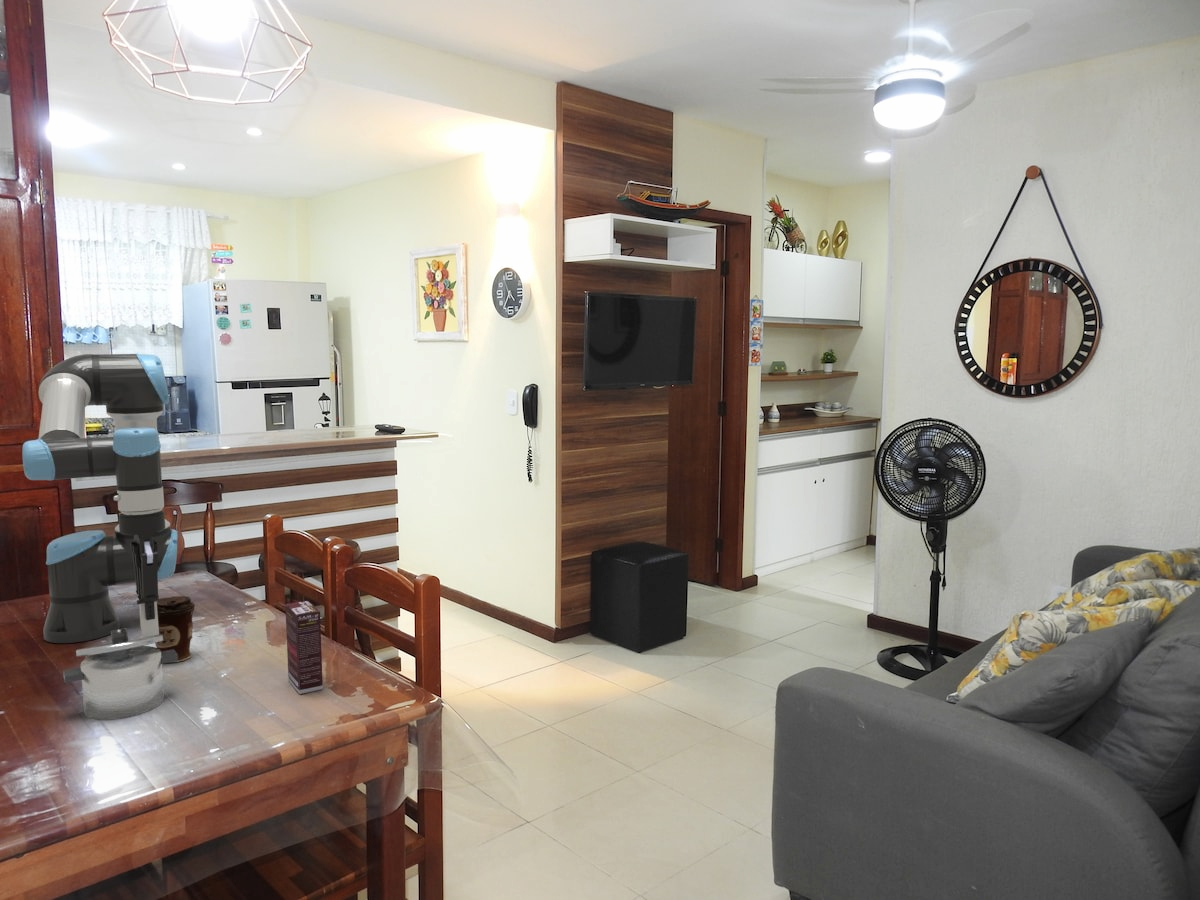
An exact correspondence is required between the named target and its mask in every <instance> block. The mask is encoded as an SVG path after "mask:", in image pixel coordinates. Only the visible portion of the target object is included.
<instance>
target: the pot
mask: <svg viewBox="0 0 1200 900" xmlns="http://www.w3.org/2000/svg"><path fill="white" fill-rule="evenodd" d="M173 661H178V654H177V653H176V651H175V650H174V649H172V650H166V651H160V650H159V649H158V648H157V647H156V646H150V645H144V646H139V647H134V648H129V649H124V650H119V651H113V652H107V653H101V654H95V655H89V656H88V657H86V658H85V659H83V660H82V661H81V663H80V666H78V667H75V668H74V667H73V668H71V669H65V670H64V669H63V670H62V672H63V680H64V683H65V684H68V683H73V682H79V681H81V687H82V688H81V689H82V701H83V712H84V716H86V717H87V718H90V719H92V720H99V721H100V720H101V721H107V720H108V721H109V720H111V721H112V720H119V719H126V718H131V717H134V716H139V715H142V714H145V713H147V712H149V711H151V710H153V709H155V708H158V706H160V705H161V704H162V703H163V702H164V699H165V693H164V691H165V690H164V680H163V679H164V678H163V664H169V663H168V662H170V663H174V662H173Z"/></svg>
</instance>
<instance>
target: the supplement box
mask: <svg viewBox="0 0 1200 900" xmlns="http://www.w3.org/2000/svg"><path fill="white" fill-rule="evenodd" d="M285 624H286V625H285V626H286V628H285V629H286V648H287V649H286V651H287V653H286V654H287V655H286V656H287V677H288V682H289V683H290V685H292V687H293V688H294V689H295V691H296V692H297V693H298V694H299V695H301V694H302V695H303V694H307V693H313V692H318V691H321V690H323V689H324V685H323V683H324V682H323V659H322V658H323V657H322V655H323V654H322V630H321V629H322V628H321V625H322V624H321V611H320V610H319V609H318V608H317V607H316V606H315V605H314V604H313V603H311V602H310V601H309V600H303V601H302V600H301V601H297V602H292V603H291V602H290V603H286V604H285Z"/></svg>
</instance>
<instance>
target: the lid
mask: <svg viewBox="0 0 1200 900" xmlns="http://www.w3.org/2000/svg"><path fill="white" fill-rule="evenodd" d="M110 635H111V636H110V637H111V641H108V642H103V643H100V644H96V645H92V646H87V647H83V648H79V649H76V650H75V652H76V653H75V656H76V657H87V656H92V655H95V654H101V653H107V652H113V651H119V650H124V649H129V648H134V647H139V646H150V645H152V644H155V643H157V642H161V641H163V635H154V636H148V637H142V636H140V637H136V638H134V637H133V638H129V637H128V636H129V635H128V628H127V627H126V628H119V629H118V630H113V631H111V634H110Z"/></svg>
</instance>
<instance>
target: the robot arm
mask: <svg viewBox="0 0 1200 900" xmlns="http://www.w3.org/2000/svg"><path fill="white" fill-rule="evenodd" d="M164 371H165V370H164V367H163V363H162V360H161V359H160V357H158V356H157V355H155V354H147V353H146V354H145V353H139V352H137V353H109V354H108V353H106V354H105V353H104V354H103V353H100V354H96V353H95V354H92V353H87V354H85V353H84V354H79V355H75V356H74V355H73V356H71V357H69V358H67V359H64V360H61V361H60V362H58V363H57V364H55V365H54V366H53V367H51V368H49V370H48V371H47V372H45V374H44V375H43V376H42V378H41V381H40V383H39V385H38V399H39V401H40V402H41V404H42V407H41V413H40V414H41V415H40V416H41V417H40V422H39V423H40V424H39V432H38V438H37V439H33V440H27V441H25V442H24V443H23V444H22V451H21V452H22V466H23V472H24V476H25V477H26V479H28V480H30V481H54V480H65V479H66V480H67V479H68V480H69V479H80V478H96V477H98V478H99V477H100V478H101V477H113V476H115V479H116V493H117V494H118V495H114V496H113V501H114V502H115V501H116V502H117V509H118V511H119V512H120V514H119V515H118V524H117V525H116V526H115V527H114V532H115V535H107V536H106V533H105V531H104V530H101V529H95V530H93V529H92V530H83V531H80V532H79V531H77V532H74V533H69V534H65V535H63V536H60V537H57V538H56V539H53V540H51V541H50V542H49V543H48V545H47V547H46V562H45V565H47V577H48V589H49V590H48V591H49V601H50V602H49V608H48V612H47V614H46V619H45V622H44V626H43V632H42V633H43V640H45V641H46V642H49V643H52V644H53V643H54V644H55V643H56V644H72V643H80V642H81V643H82V642H87V641H93V640H96V639H100V638H104V637H106V636H109V635H111V631H113V630H118V629H121V628H120V627H121V625H120V617H119V615H118V612H117V611H116V610H117V609H115V606H114V604H113V602H112V600H111V598H110V593H109V591H110V590H109V586H110V587H111V586H119V585H125V584H135V589H136V590H135V593H136V595H137V599H138V600H136V604H137V605H138V608H139V622H140V623H139V624H140V635H141V637H148V636H154V635H159V627H158V613H157V600H158V599H160V596H159V581H158V580H164V579H165V580H166V579H169V578H171V577H172V576H173V575H174V573H175V571H176V565H177V556H178V539H179V537H178V534H179V533H178V530H176V529H173V528H172V529H171V522H170V521H168V520H167V519H166V518H165V511H164V510H163V508H164V507H165V498H164V497H165V496H164V486H163V481H162V478H163V477H162V459H161V458H162V457H161V441H160V435H159V431H158V421H157V419H158V417H160V416H161V415H162V413H164V405H167V404H169V403H170V396H169V390H168V385H167V381H166V380H167V379H166V377H165V372H164ZM89 406H105V410H106V415H108V416H109V417H110V418H112V419H113V421H114V430H115V431H114V432H113V434H112V436H104V437H102V436H101V437H99V436H98V437H85V427H86V426H85V424H86V423H85V421H86V407H89Z"/></svg>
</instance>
